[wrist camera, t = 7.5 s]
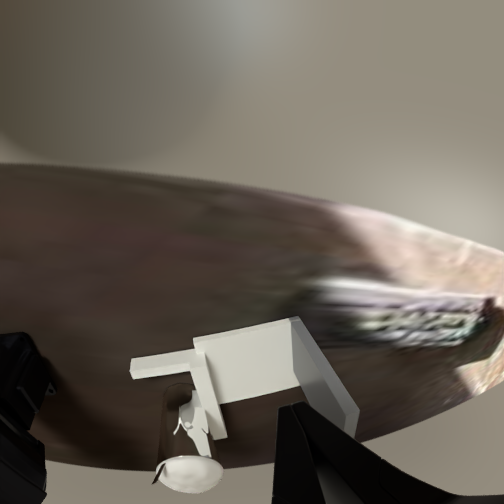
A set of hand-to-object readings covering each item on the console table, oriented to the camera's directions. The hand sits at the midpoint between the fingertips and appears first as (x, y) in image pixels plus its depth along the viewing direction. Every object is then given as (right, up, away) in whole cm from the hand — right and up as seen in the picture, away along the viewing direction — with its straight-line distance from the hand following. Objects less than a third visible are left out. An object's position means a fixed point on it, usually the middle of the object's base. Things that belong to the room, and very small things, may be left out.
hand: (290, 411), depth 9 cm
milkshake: (-7, -7, +15) cm, 18 cm away
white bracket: (-4, -6, +15) cm, 17 cm away
